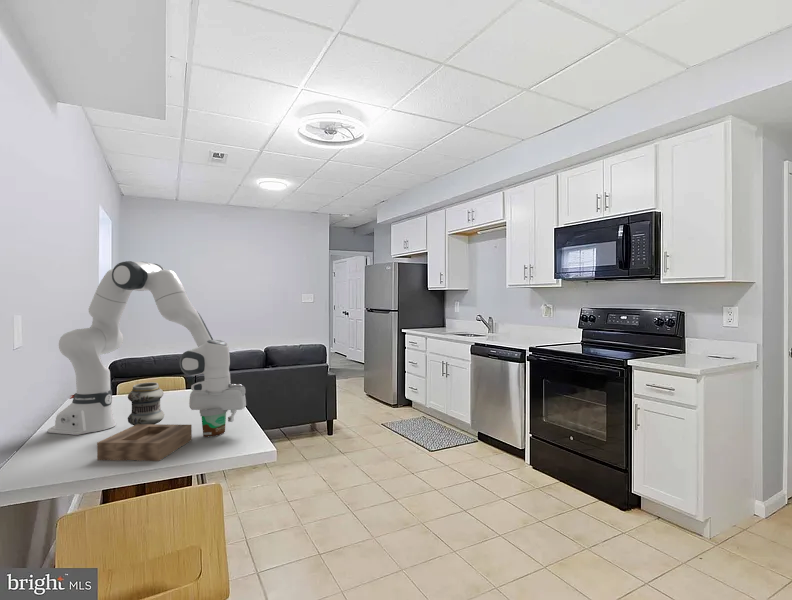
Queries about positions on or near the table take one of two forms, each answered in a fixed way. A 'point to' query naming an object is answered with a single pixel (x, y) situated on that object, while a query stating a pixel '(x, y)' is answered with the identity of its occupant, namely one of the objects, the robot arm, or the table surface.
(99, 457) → the walnut base
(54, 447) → the table surface
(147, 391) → the apothecary jar
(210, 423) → the food container
